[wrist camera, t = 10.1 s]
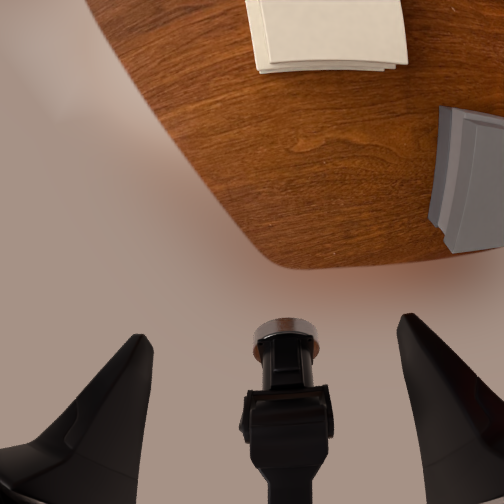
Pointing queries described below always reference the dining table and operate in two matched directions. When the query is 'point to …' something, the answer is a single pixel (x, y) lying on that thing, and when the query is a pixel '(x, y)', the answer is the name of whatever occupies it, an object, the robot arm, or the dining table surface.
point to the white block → (334, 31)
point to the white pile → (265, 67)
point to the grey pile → (469, 180)
